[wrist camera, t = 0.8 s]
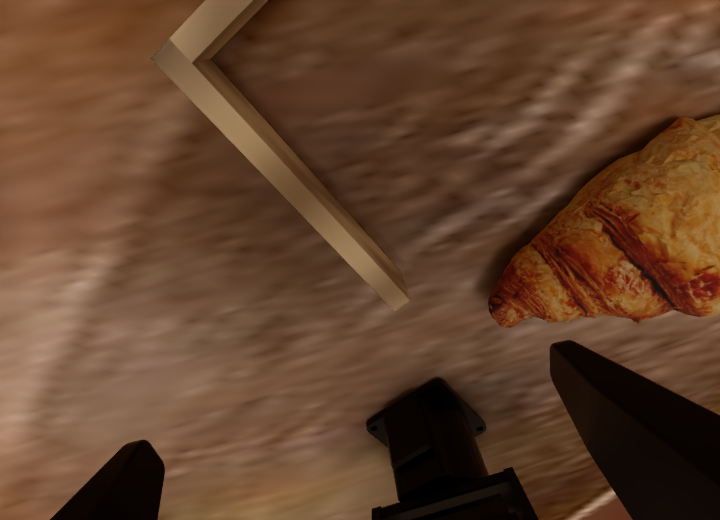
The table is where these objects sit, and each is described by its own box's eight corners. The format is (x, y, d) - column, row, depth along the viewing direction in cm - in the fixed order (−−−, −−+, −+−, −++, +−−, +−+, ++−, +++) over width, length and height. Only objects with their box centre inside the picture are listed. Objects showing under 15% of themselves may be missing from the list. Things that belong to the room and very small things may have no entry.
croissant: (781, 56, 23) (970, -36, 15) (870, 212, 23) (1107, 200, 15) (445, 239, 26) (457, 241, 18) (521, 377, 26) (567, 439, 18)
